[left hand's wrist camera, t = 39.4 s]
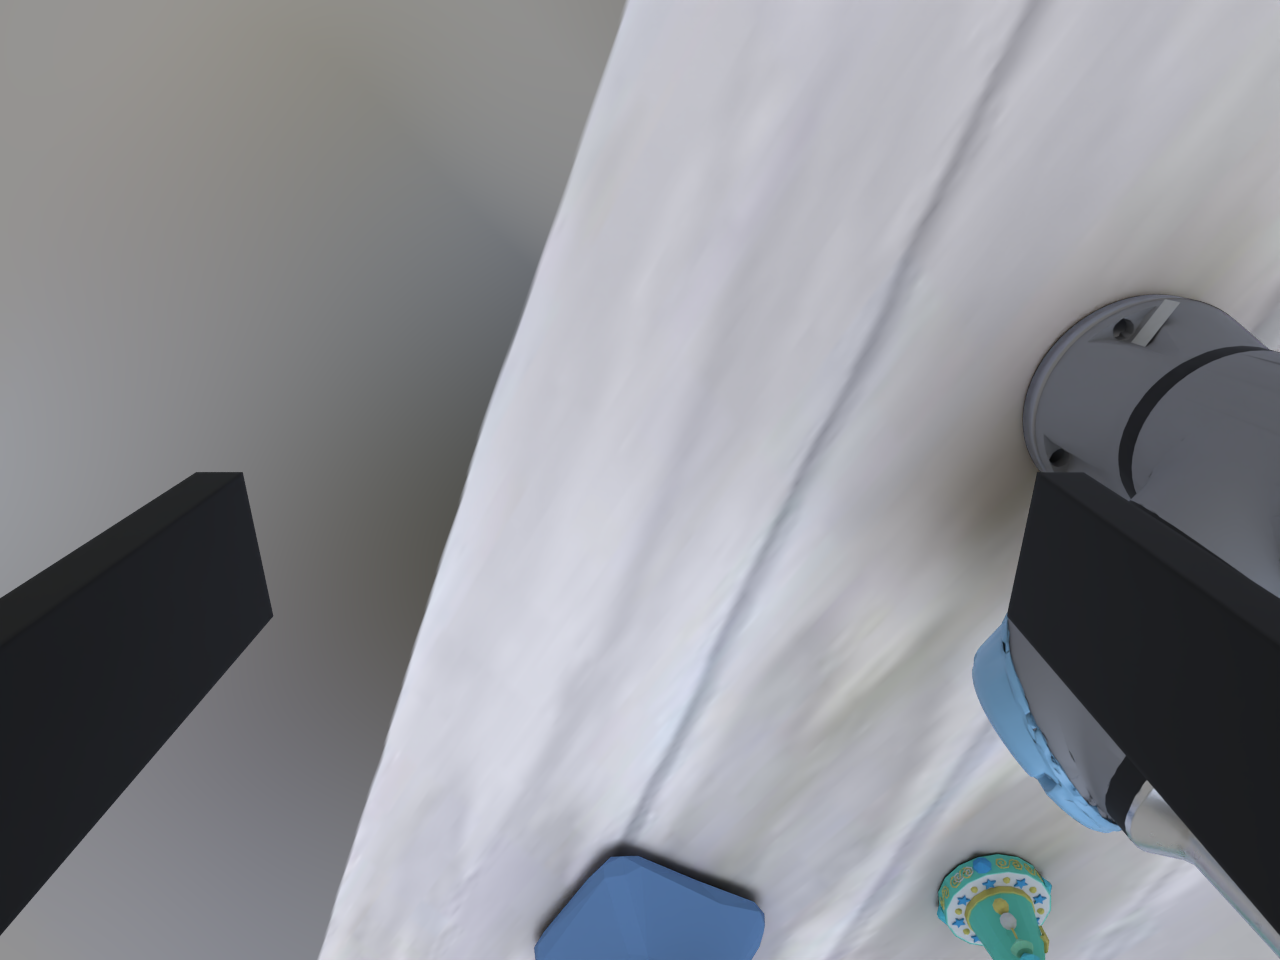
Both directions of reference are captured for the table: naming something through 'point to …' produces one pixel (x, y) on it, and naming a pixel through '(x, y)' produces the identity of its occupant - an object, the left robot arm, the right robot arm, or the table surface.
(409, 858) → the table surface
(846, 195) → the table surface
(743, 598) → the table surface
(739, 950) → the figurine
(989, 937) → the decorative hourglass
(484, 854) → the table surface
